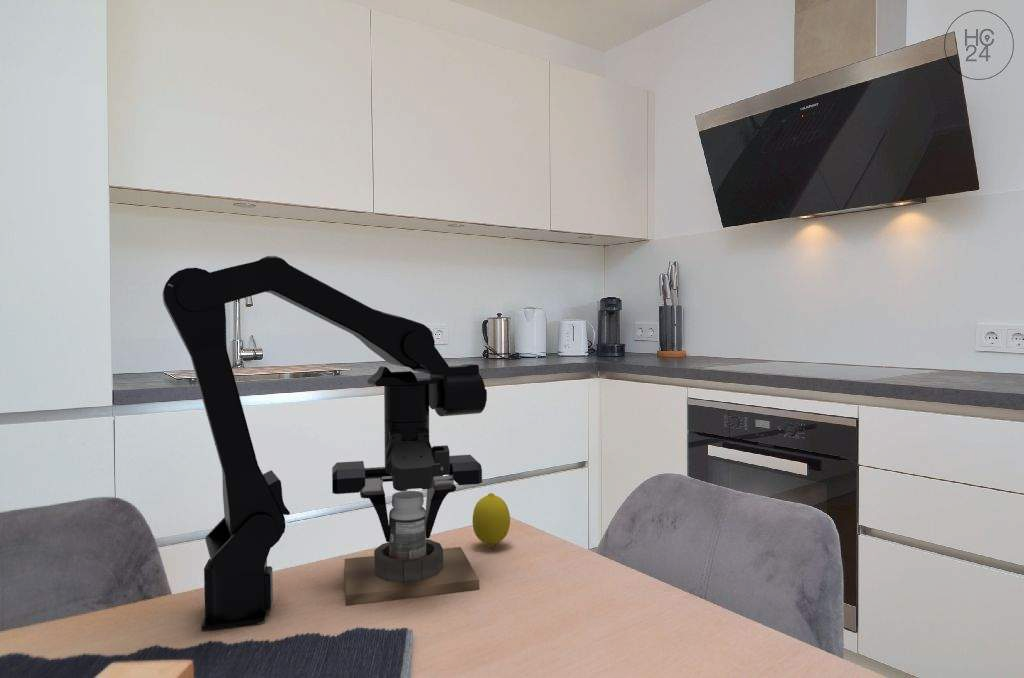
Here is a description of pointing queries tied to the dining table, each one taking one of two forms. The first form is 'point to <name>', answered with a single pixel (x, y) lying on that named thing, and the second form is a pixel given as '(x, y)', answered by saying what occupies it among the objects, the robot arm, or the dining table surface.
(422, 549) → the pill bottle
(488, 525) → the lemon
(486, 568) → the dining table surface
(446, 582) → the socket board
